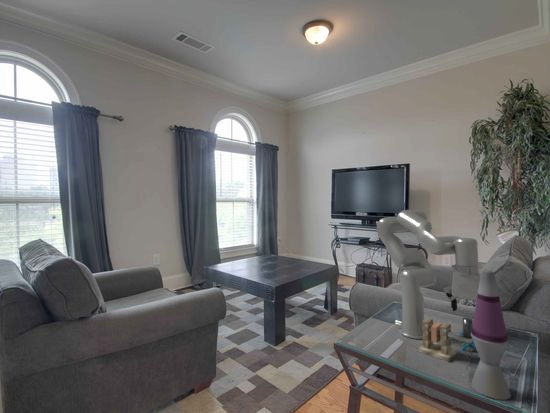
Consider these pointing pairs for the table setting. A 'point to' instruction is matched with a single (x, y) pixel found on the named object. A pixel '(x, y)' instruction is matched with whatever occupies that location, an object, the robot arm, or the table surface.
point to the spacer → (435, 332)
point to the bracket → (433, 348)
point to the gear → (467, 344)
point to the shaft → (466, 331)
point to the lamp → (489, 339)
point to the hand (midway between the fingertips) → (468, 313)
